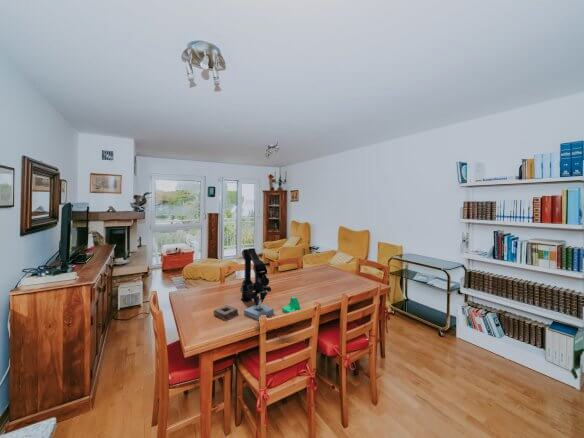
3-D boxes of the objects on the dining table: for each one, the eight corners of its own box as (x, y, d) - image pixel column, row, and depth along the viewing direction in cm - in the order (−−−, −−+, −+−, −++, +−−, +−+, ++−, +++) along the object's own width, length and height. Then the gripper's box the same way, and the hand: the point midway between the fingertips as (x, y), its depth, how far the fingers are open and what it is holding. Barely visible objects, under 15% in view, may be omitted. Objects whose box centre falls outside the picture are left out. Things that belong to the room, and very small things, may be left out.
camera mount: (281, 311, 174) (281, 296, 173) (289, 308, 179) (289, 294, 178) (293, 317, 165) (293, 302, 164) (301, 314, 170) (301, 299, 169)
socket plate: (258, 307, 179) (258, 303, 179) (273, 312, 171) (273, 308, 170) (243, 314, 167) (244, 310, 167) (259, 320, 159) (259, 315, 159)
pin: (258, 312, 171) (258, 297, 171) (262, 313, 169) (262, 299, 169) (255, 313, 169) (255, 299, 168) (258, 315, 167) (259, 300, 166)
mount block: (226, 309, 175) (226, 304, 175) (237, 313, 169) (237, 309, 168) (213, 314, 166) (213, 310, 166) (224, 319, 160) (224, 314, 160)
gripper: (259, 276, 180) (259, 297, 181) (240, 282, 165) (240, 305, 166) (271, 279, 173) (271, 301, 174) (252, 286, 158) (252, 310, 159)
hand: (258, 304), depth 169 cm, fingers open, 5 cm apart
